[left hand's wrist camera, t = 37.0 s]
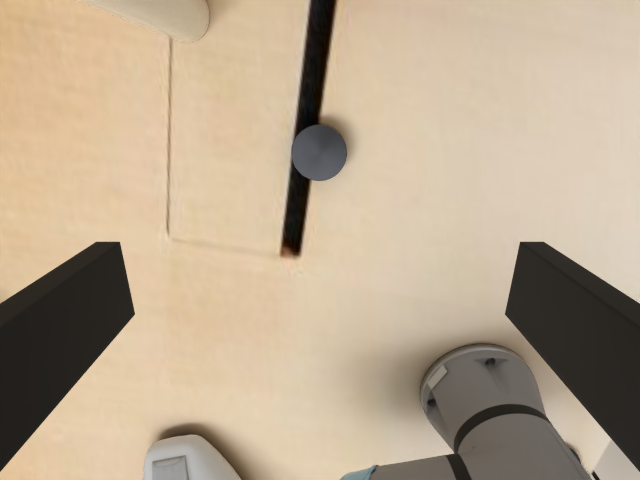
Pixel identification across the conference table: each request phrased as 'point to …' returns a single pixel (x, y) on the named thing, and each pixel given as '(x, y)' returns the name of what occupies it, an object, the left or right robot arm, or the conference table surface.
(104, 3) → the jar
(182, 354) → the conference table surface
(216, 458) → the projector
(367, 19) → the conference table surface
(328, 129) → the lid
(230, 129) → the conference table surface
